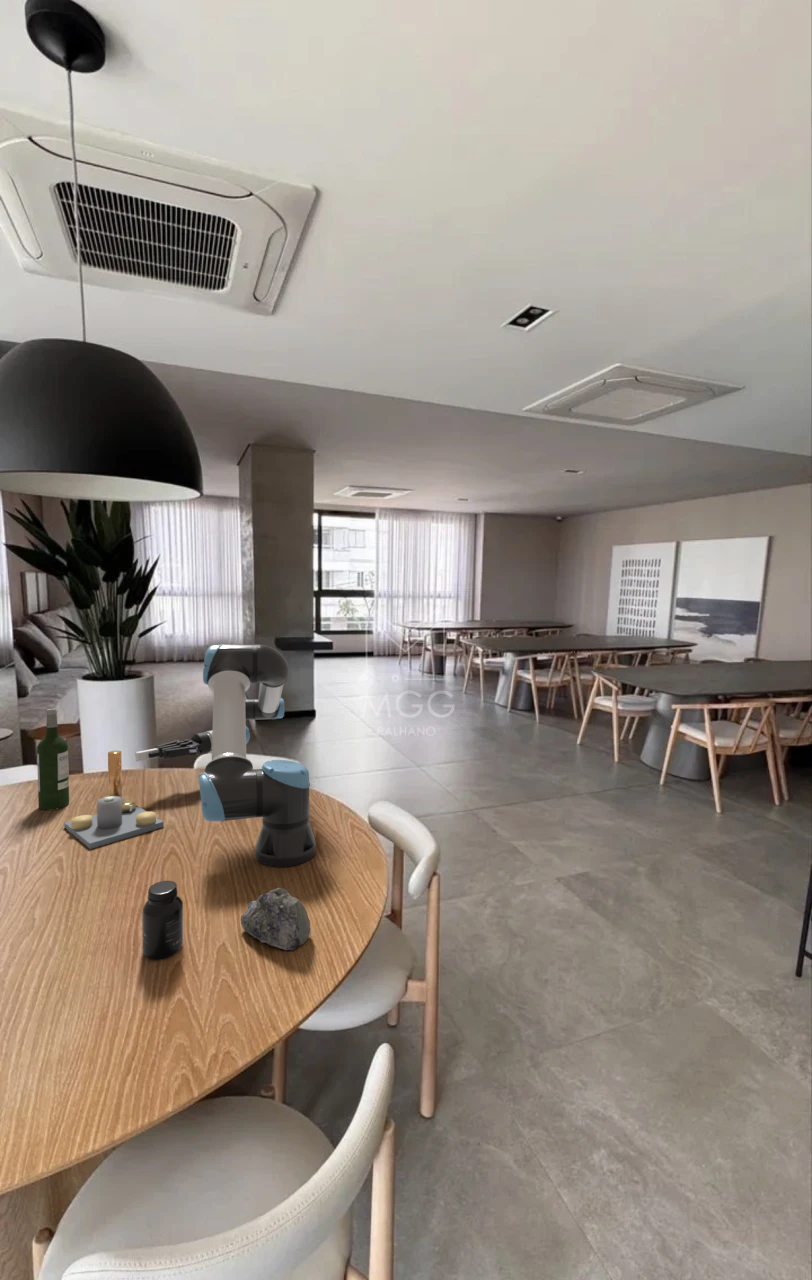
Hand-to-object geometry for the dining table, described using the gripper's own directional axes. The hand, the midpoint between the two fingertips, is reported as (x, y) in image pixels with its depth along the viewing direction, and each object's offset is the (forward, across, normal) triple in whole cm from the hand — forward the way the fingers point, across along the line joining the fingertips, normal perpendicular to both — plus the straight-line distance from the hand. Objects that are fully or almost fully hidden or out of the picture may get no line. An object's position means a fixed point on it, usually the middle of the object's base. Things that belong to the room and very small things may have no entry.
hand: (136, 756), depth 170 cm
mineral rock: (+11, -89, -14) cm, 91 cm away
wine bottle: (+19, +15, -15) cm, 28 cm away
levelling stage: (+13, -15, -14) cm, 24 cm away
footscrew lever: (+7, -5, -13) cm, 15 cm away
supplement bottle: (+28, -77, -14) cm, 83 cm away
